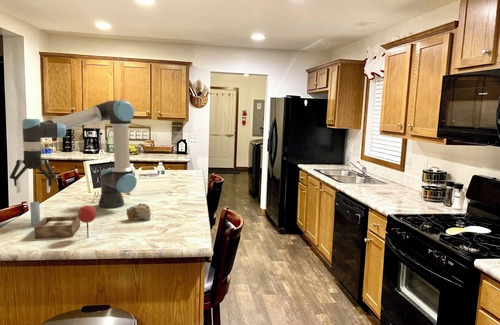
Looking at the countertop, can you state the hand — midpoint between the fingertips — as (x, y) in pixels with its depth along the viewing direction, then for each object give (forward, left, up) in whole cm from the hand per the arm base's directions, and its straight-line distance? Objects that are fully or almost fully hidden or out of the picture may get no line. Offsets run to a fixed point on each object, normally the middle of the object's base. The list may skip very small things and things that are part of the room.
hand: (33, 192), depth 190 cm
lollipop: (-29, +23, -17) cm, 41 cm away
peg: (0, 0, -17) cm, 17 cm away
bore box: (-14, +13, -17) cm, 26 cm away
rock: (-50, -6, -17) cm, 53 cm away
